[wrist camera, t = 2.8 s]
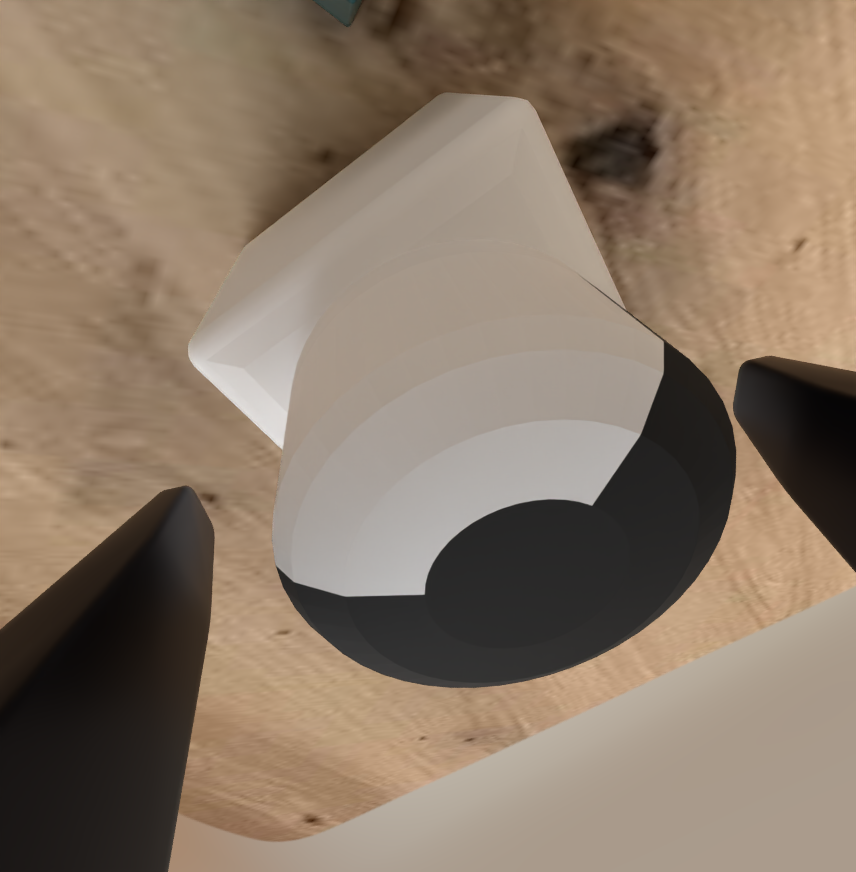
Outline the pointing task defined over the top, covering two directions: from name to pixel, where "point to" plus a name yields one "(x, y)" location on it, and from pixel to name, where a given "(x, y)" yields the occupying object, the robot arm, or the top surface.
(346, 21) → the desk bin
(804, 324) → the top surface
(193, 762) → the top surface
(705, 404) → the medicine bottle
